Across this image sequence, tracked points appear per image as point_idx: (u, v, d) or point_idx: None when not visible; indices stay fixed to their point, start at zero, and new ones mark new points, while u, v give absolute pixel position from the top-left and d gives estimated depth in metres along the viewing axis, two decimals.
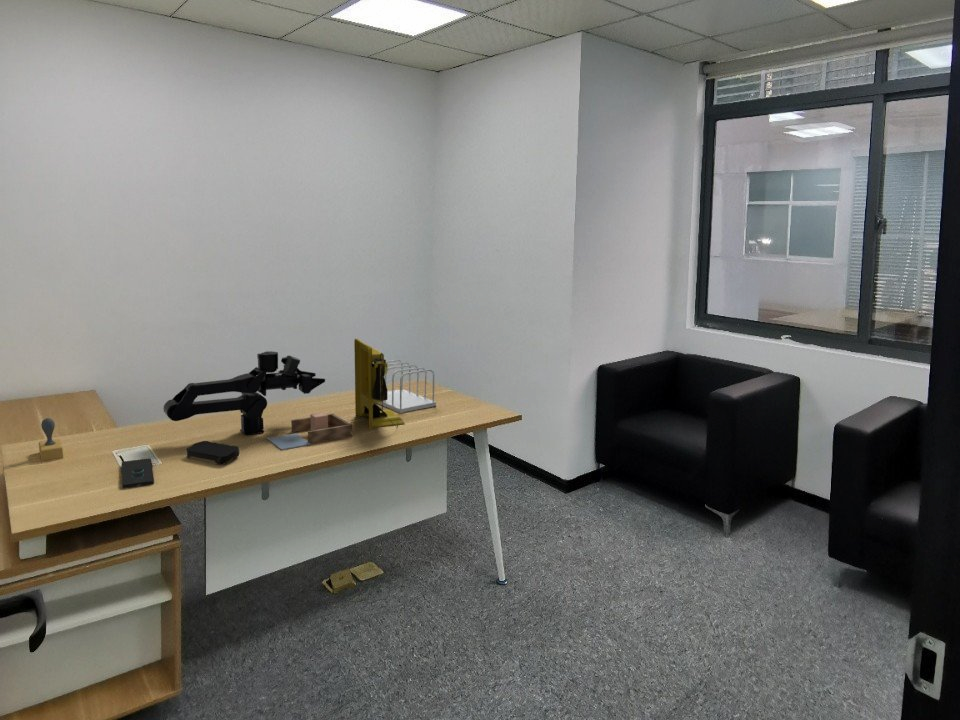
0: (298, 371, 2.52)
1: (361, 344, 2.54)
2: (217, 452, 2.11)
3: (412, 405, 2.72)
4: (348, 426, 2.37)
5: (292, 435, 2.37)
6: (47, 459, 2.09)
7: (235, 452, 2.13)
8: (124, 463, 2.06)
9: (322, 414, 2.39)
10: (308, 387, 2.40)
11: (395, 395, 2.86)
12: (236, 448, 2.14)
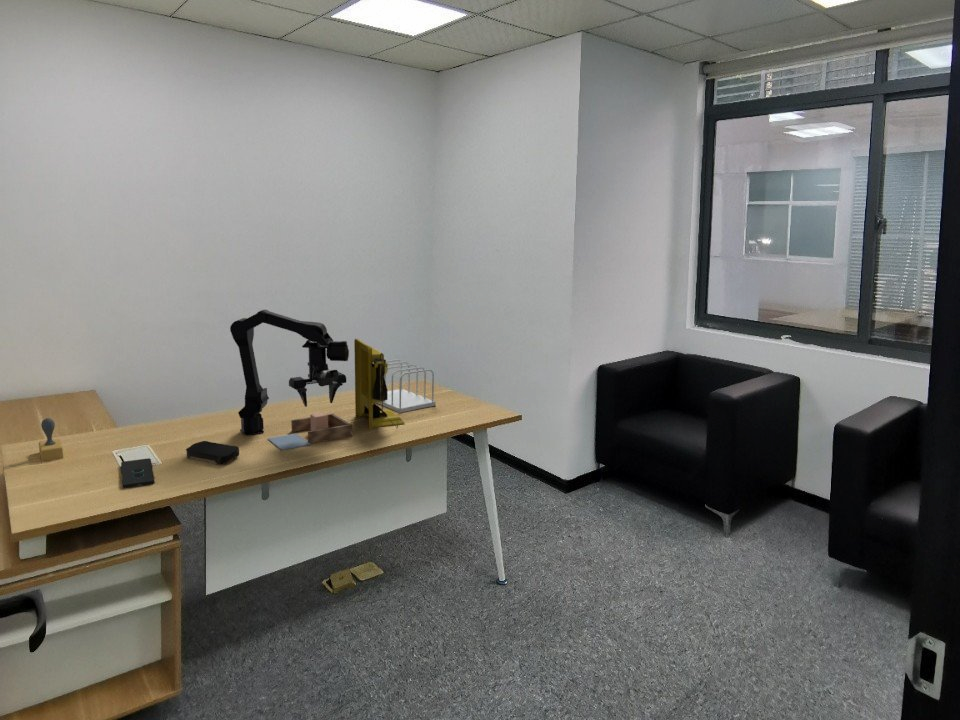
0: (333, 386, 2.39)
1: (361, 344, 2.54)
2: (217, 452, 2.11)
3: (412, 405, 2.73)
4: (348, 426, 2.37)
5: (292, 435, 2.37)
6: (47, 459, 2.09)
7: (235, 452, 2.13)
8: (124, 463, 2.06)
9: (322, 414, 2.39)
10: (290, 385, 2.32)
11: (394, 395, 2.87)
12: (236, 448, 2.14)
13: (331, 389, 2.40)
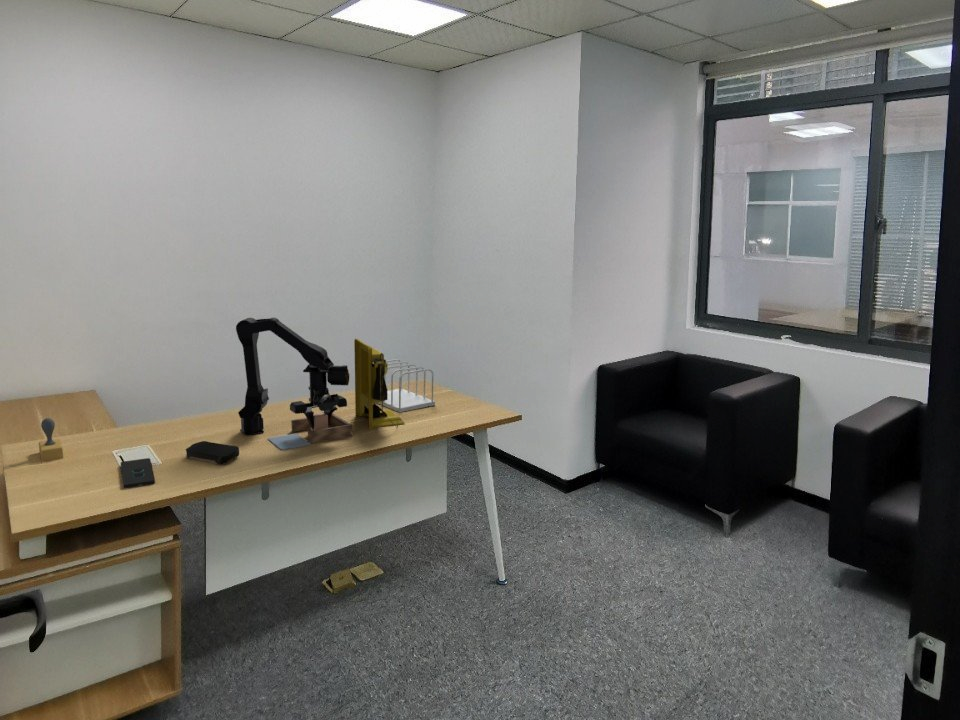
0: (328, 410, 2.39)
1: (361, 344, 2.54)
2: (218, 452, 2.11)
3: (411, 404, 2.73)
4: (348, 426, 2.37)
5: (292, 435, 2.37)
6: (47, 459, 2.09)
7: (235, 452, 2.13)
8: (123, 463, 2.05)
9: (322, 414, 2.39)
10: (291, 409, 2.34)
11: (394, 394, 2.87)
12: (236, 448, 2.14)
13: (326, 413, 2.40)
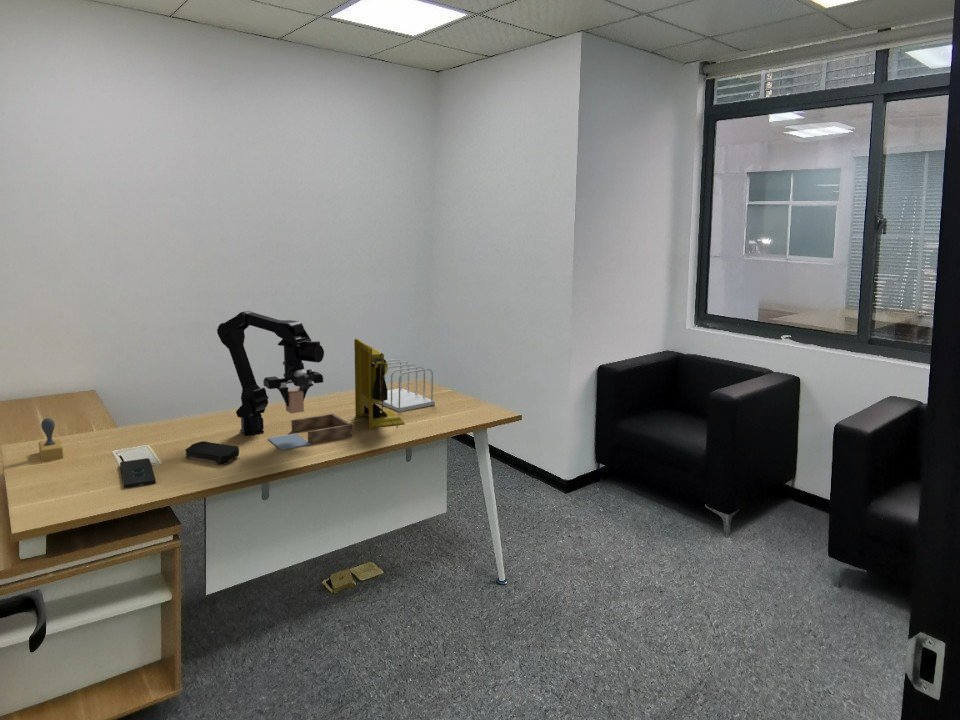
0: (304, 386, 2.31)
1: (361, 344, 2.54)
2: (218, 452, 2.11)
3: (411, 404, 2.74)
4: (348, 426, 2.37)
5: (292, 435, 2.37)
6: (47, 459, 2.09)
7: (235, 452, 2.13)
8: (123, 463, 2.05)
9: (297, 390, 2.31)
10: (265, 384, 2.25)
11: (394, 394, 2.87)
12: (236, 448, 2.14)
13: None
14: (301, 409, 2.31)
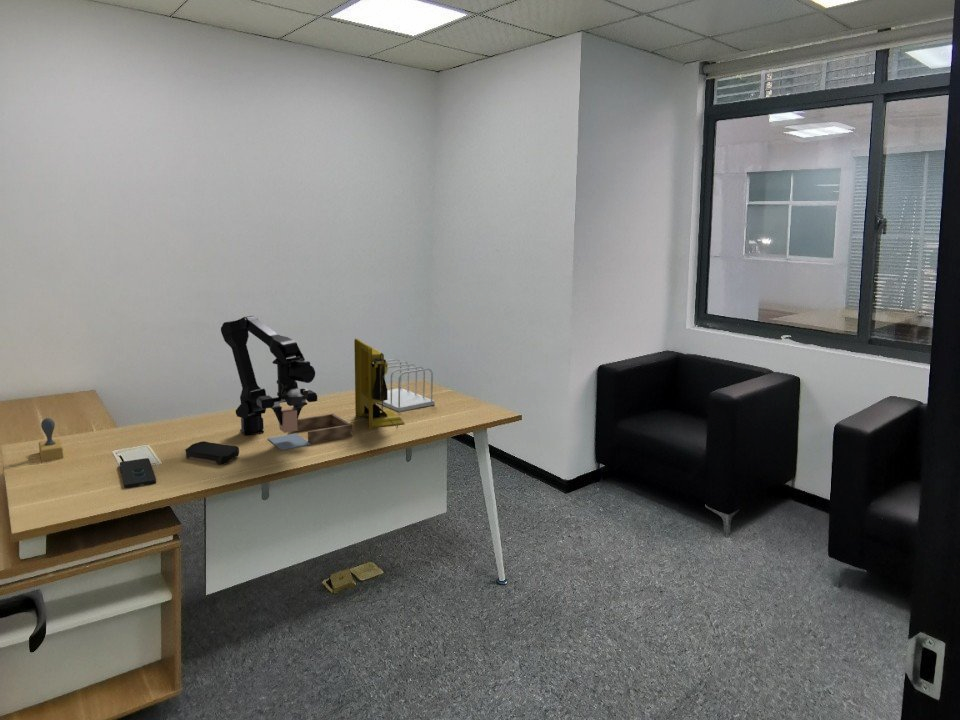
0: (297, 405, 2.29)
1: (361, 344, 2.54)
2: (218, 452, 2.11)
3: (410, 404, 2.74)
4: (348, 426, 2.37)
5: (292, 435, 2.37)
6: (47, 459, 2.09)
7: (235, 452, 2.13)
8: (122, 463, 2.05)
9: (291, 409, 2.29)
10: (258, 404, 2.23)
11: (394, 394, 2.88)
12: (236, 448, 2.14)
13: None
14: (295, 428, 2.29)
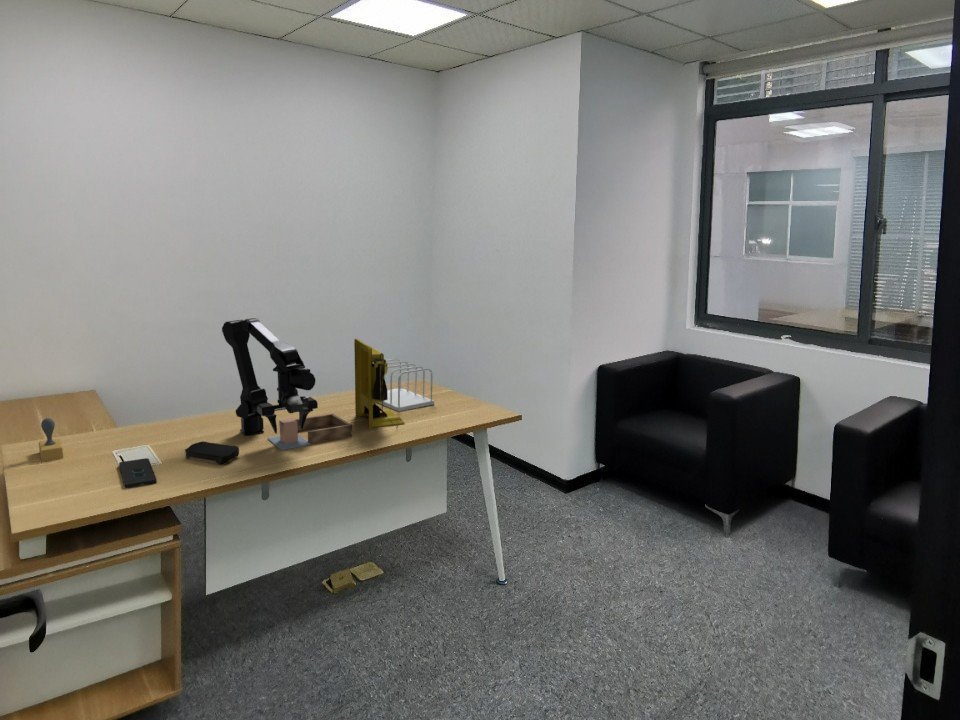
0: (303, 412, 2.31)
1: (361, 344, 2.54)
2: (218, 452, 2.11)
3: (410, 404, 2.74)
4: (348, 426, 2.37)
5: None
6: (47, 459, 2.09)
7: (235, 452, 2.13)
8: (122, 463, 2.05)
9: (291, 420, 2.30)
10: (258, 411, 2.24)
11: (393, 394, 2.88)
12: (236, 448, 2.14)
13: (301, 415, 2.32)
14: (295, 439, 2.30)
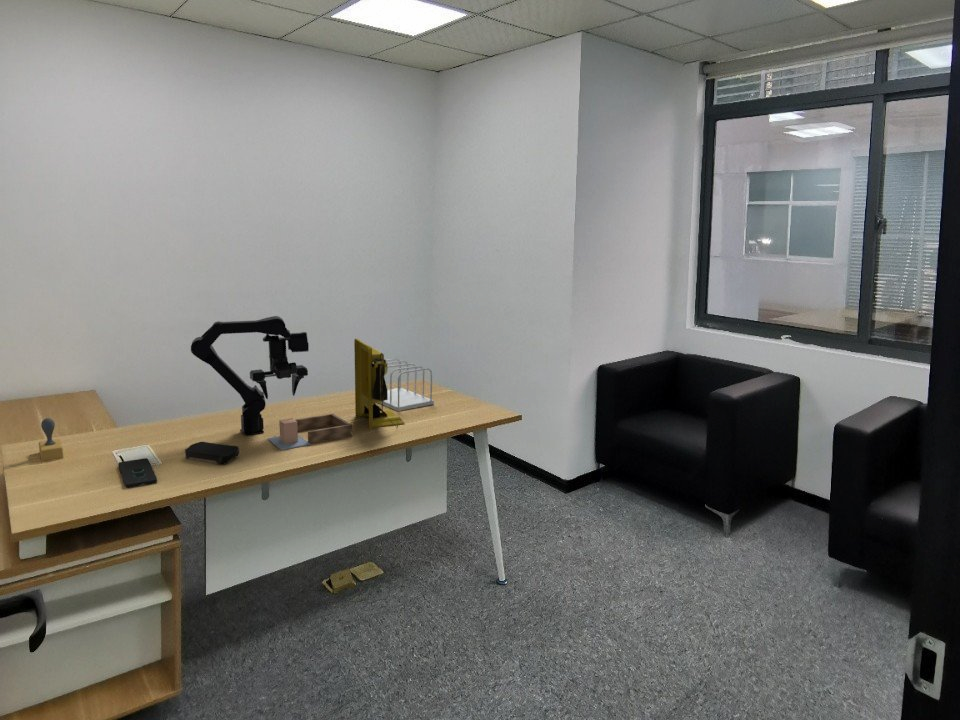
0: (295, 378, 2.41)
1: (361, 344, 2.54)
2: (218, 452, 2.11)
3: (410, 403, 2.75)
4: (348, 426, 2.37)
5: None
6: (47, 459, 2.09)
7: (235, 452, 2.13)
8: (121, 463, 2.05)
9: (291, 420, 2.30)
10: (250, 377, 2.36)
11: (393, 393, 2.88)
12: (236, 448, 2.14)
13: (293, 382, 2.43)
14: (295, 439, 2.30)
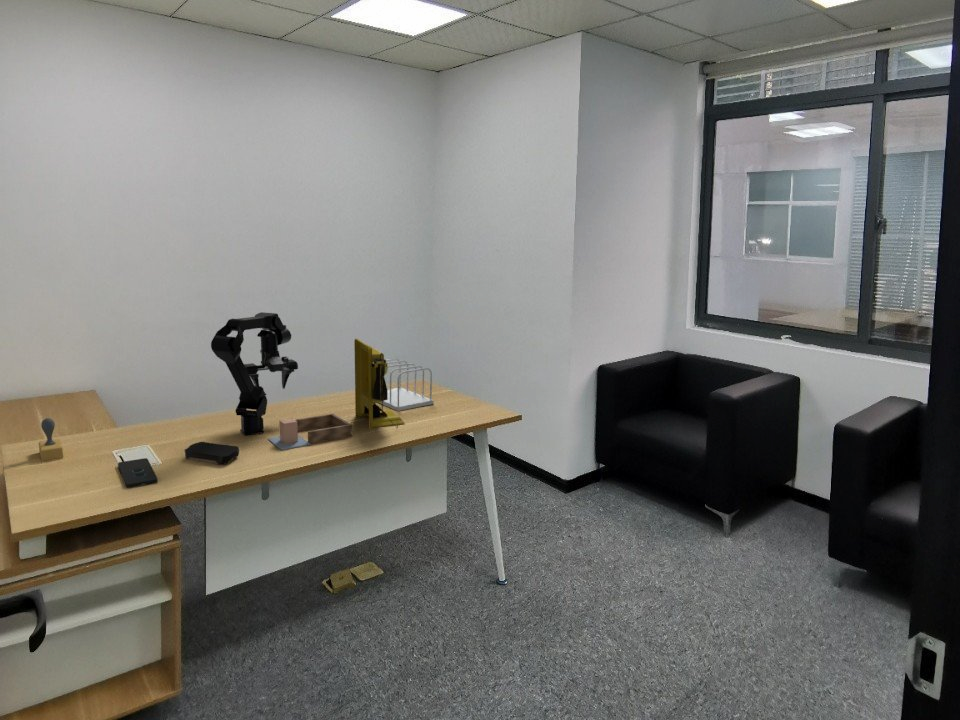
0: (285, 372, 2.51)
1: (361, 344, 2.54)
2: (218, 452, 2.11)
3: (410, 403, 2.75)
4: (348, 426, 2.37)
5: None
6: (47, 459, 2.09)
7: (236, 452, 2.13)
8: (121, 463, 2.05)
9: (291, 420, 2.30)
10: None
11: (393, 393, 2.89)
12: (236, 448, 2.14)
13: (283, 375, 2.52)
14: (295, 439, 2.30)
